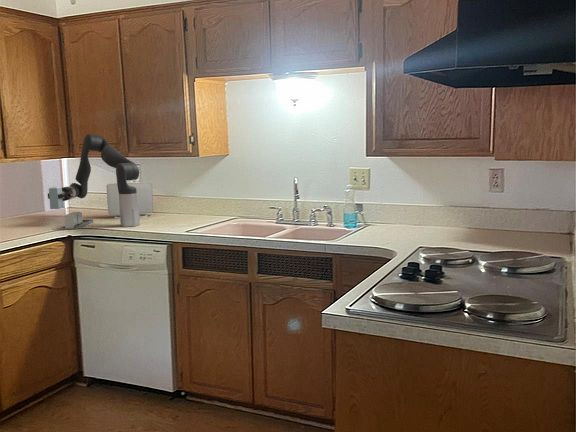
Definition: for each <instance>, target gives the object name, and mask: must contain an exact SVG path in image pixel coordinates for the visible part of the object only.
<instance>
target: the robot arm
mask: <svg viewBox="0 0 576 432" xmlns="http://www.w3.org/2000/svg"><path fill="white" fill-rule="evenodd" d="M90 151H93V152H98V153H100V157H101V159H102V161H103V162H104V163H105V164H106V165H107V166H109V167H111V168H113V169H115V176H116V183H117V187H118V192H119V209H120V215H119V216H120V219H119V221H120V222H119V223H120V227H125V228H126V227H136V226H139V225H140V224H141V223H140V222H141V221H140V220H141V219H140V218H141V217H139V207H137V191H136V188H135V187H132V186H129V185H128V184H127V183H128V181H134V180H137V179H138V178H139V177H140V169H139V167H138V165H137V164H136V163H135V162H133V161H132V160H130V159H128V158H127V157H125V156H124V155H123V154H122V153H121V152H120V151H118V150H117V149H116V148H114V147H113V146H112V145H111V144H110V143H109V142H108V140H107V139H105V137H103V136H101V135H98V134H92V133H88V134H86V135H85V136H84V137H83V141H82V146H81V154H80V160H79V165H78V169H77V172H76V175H75V177H74V178H75V181H76V182H78V183H79V184H78V183H76V182H72V183H70V185H69V186H63V187H62V194H58V199H60V198H63V202H66V201H69V200H72V199H74V198H79V199H84V198H86V196H87V195H88V189H89V188H88V186H89V185H88V182H89V177H90V176H91V172H92V171H91V170H92V167H91V164H90V160H89V153H90ZM47 199H49V192H48V193H47Z"/></svg>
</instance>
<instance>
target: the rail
mask: <svg viewBox="0 0 576 432" xmlns="http://www.w3.org/2000/svg"><path fill="white" fill-rule="evenodd" d="M93 222H94V219H92V218H91V219H83V213H82V212H81V211H72V212H70V213H68V214H64V225H63V226H62V227H61V230H78V229H81V228H83V227H86V226H88V225H90V224H93Z"/></svg>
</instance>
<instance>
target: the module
mask: <svg viewBox="0 0 576 432" xmlns="http://www.w3.org/2000/svg"><path fill="white" fill-rule="evenodd" d="M62 188H63V187H62V186H52V187H51V186H50V187H49V188H48V193H49V198H48V199H49V208H50V209H49V210H59V209H63V208H64V201H63V198H60V199H58V194H62Z"/></svg>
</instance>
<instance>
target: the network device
mask: <svg viewBox="0 0 576 432" xmlns="http://www.w3.org/2000/svg"><path fill="white" fill-rule="evenodd" d="M127 184H128V185H129V186H132V187H135V188H136V191H137V207H139V217H140V218H147V217H149V216H148V214H152V213H153V212H154V196H153V195H154V194H153V184H152V182H150V181H139V182H138V181H137V182H127ZM105 187H106V199H107V200H106V202H107V203H106V204H107V214H108V215H109V216H113V217H114V218H113V219H115V220H118V219H119V220H120V209H119V192H118V187H117V182H115V183H108V184H106V186H105Z"/></svg>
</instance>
